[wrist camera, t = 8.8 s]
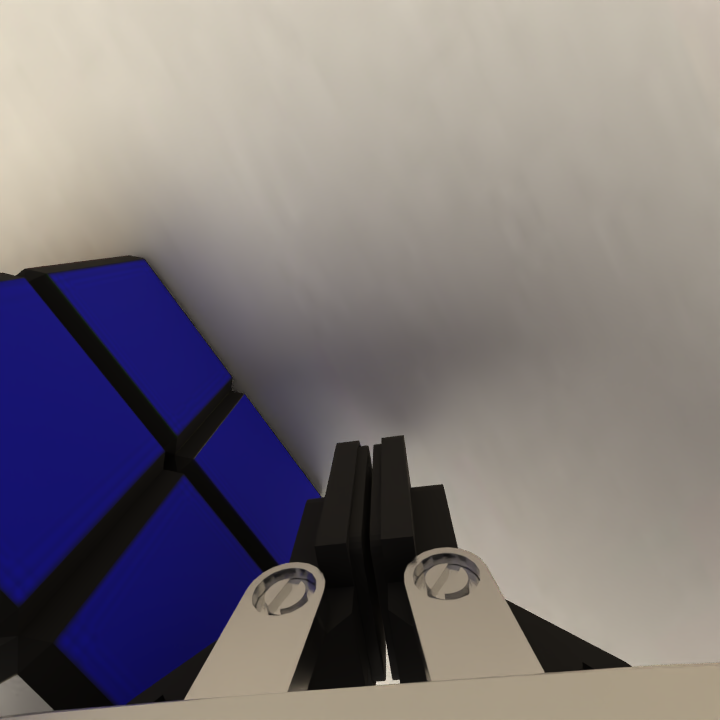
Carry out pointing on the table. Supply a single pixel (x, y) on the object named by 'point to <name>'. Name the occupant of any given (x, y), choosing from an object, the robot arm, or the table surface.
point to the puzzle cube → (123, 487)
